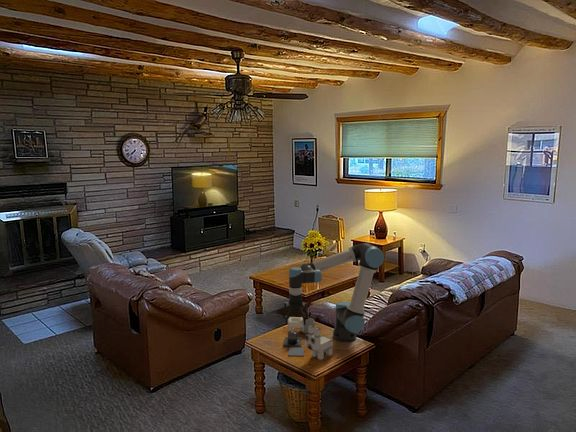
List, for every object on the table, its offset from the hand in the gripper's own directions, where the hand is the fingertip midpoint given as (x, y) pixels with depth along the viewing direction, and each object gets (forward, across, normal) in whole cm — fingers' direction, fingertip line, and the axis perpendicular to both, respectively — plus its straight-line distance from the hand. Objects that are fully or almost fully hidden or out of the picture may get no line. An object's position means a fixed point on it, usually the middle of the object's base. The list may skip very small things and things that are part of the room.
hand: (295, 329), depth 257 cm
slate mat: (+15, 0, 0) cm, 15 cm away
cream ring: (-3, 0, 0) cm, 3 cm away
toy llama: (+15, -15, +4) cm, 21 cm away
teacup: (+15, -5, -32) cm, 35 cm away
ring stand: (+15, +3, -13) cm, 19 cm away
